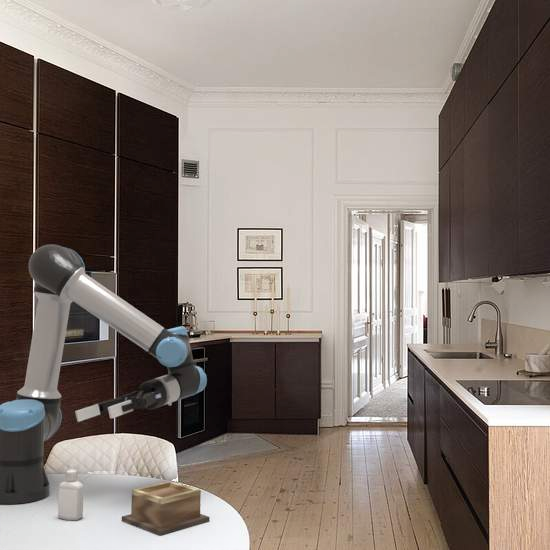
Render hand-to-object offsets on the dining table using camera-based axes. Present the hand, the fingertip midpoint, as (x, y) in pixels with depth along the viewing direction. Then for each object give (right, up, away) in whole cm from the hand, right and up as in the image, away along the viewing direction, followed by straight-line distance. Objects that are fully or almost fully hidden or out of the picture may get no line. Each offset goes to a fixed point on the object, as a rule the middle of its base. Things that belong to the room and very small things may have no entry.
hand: (92, 414), depth 169 cm
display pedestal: (+19, -22, -11) cm, 31 cm away
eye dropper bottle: (-3, -22, -10) cm, 24 cm away
